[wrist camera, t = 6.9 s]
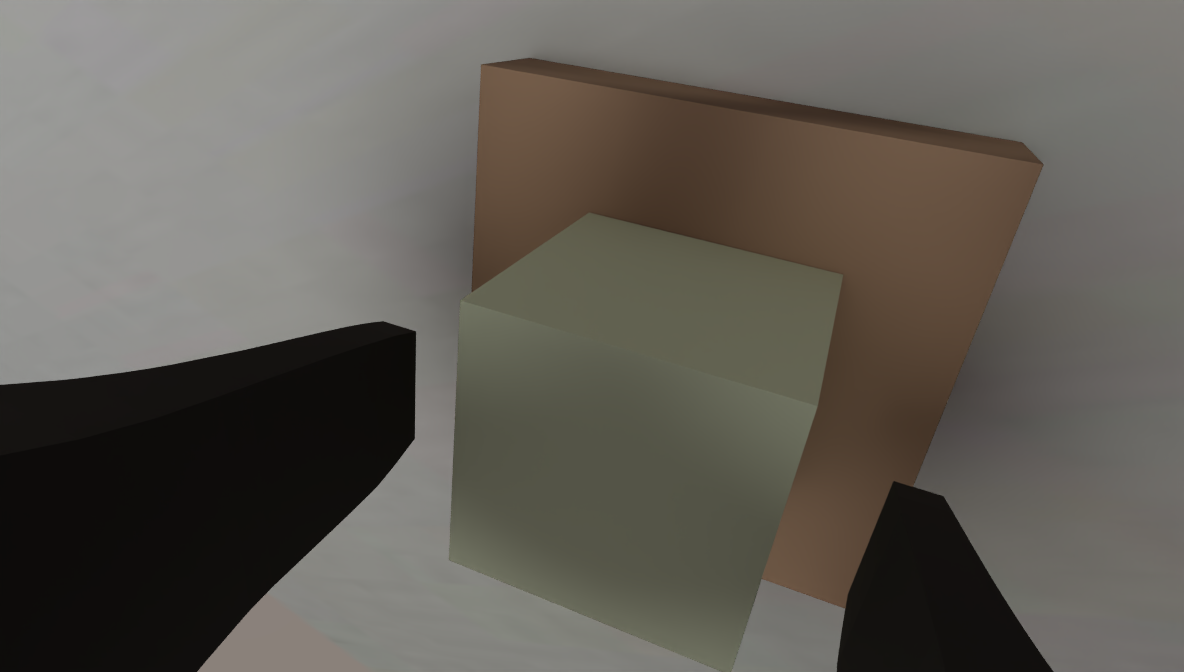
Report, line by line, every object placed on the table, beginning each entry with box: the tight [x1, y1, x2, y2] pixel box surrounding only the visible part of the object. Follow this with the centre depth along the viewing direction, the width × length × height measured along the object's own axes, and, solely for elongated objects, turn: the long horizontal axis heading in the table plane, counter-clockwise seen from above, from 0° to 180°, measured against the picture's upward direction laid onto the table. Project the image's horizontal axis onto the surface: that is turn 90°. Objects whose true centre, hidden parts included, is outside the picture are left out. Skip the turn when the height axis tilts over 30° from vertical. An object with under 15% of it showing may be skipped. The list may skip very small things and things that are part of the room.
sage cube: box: [449, 213, 843, 672], centre depth 11 cm, size 4×4×4 cm
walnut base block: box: [472, 58, 1043, 608], centre depth 14 cm, size 9×9×2 cm
